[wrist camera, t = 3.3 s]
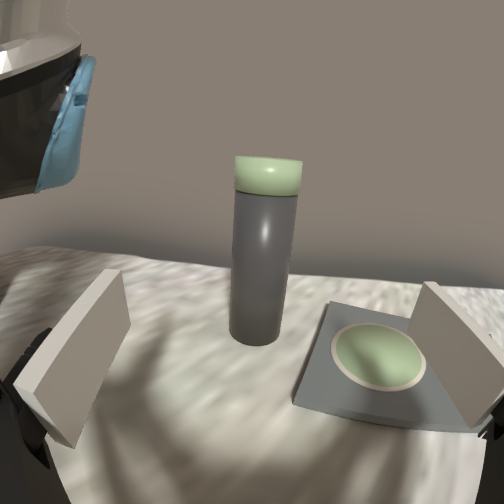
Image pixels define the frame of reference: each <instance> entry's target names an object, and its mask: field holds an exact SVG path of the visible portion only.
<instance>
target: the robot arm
mask: <svg viewBox="0 0 504 504" xmlns="http://www.w3.org/2000/svg"><path fill="white" fill-rule="evenodd" d="M68 5H69V0H0V199H4V198H9V197H15V196H20V195H26V194H31V193H34V194H37V193H39V192H40V191H41V190H45V189H50V188H55V187H60V186H64V185H66V184H68V183H69V182H70V181H71V180H72V179H73V178H74V177H75V176H76V174H77V172H78V169H79V162H80V150H81V141H82V133H83V126H84V119H85V112H86V106H87V101H88V96H89V91H90V86H91V81H92V77H93V72H94V69H95V65H96V59H95V57H92V56H88V55H87V54H86V55H83V56H82V57H80V50H81V41H82V36H81V34H80V33H79V32H78V31H76V30H75V29H74V28H73V27H72V26H71V25H70V24H69V23H68V22H67V11H68ZM130 326H131V323H130V318H129V313H128V308H127V302H126V297H125V291H124V285H123V278H122V271H121V270H117V269H104V270H103V272H102V273H101V274H100V275H99V276H98V277H97V278H96V279H95V280H94V281H93V282H92V284H91V285H90V286H89V287H88V288H87V289H86V290H85V291H84V293H83V294H82V295H81V296H80V297H79V298H78V299H77V301H76V302H75V303H74V304H73V305H72V307H71V308H70V309H69V310H68V311H67V313H66V314H65V315H64V316H63V317H62V319H61V320H60V321H59V322H58V324H57V325H56V326H55V327H54V329H52V328H48V329H46V330H45V331H43V332H42V333H40V334H39V335H37V337H36V338H35V339H34V340H33V342H32V343H31V344H30V347H28V348H27V349H26V351H25V352H24V355H22V356H21V357H20V359H19V360H18V361H17V363H16V364H15V366H14V367H13V368H12V370H11V371H10V372H9V374H8V375H7V377H6V378H5V380H4V381H3V382H2V381H1V379H0V504H71V502H70V500H69V498H68V496H67V494H66V492H65V489H64V487H63V485H62V482H61V480H60V478H59V475H58V473H57V470H56V467H55V465H54V462H53V459H52V456H51V453H50V450H49V447H48V444H47V442H46V441H45V439H44V438H45V435H46V433H47V432H48V434H49V435H50V436H51V437H52V438H53V440H54V441H55V442H58V443H60V444H62V445H65V446H67V447H70V448H73V449H75V447H76V444H77V442H78V439H79V436H80V434H81V431H82V429H83V427H84V424H85V422H86V419H87V417H88V414H89V412H90V410H91V407H92V405H93V403H94V401H95V398H96V396H97V394H98V392H99V389H100V387H101V385H102V383H103V381H104V379H105V376H106V374H107V372H108V370H109V368H110V366H111V364H112V362H113V360H114V358H115V355H116V353H117V351H118V349H119V347H120V345H121V343H122V341H123V339H124V338H125V336H126V334H127V332H128V330H129V328H130ZM406 331H407V333H408V334H409V336H410V337H411V338H412V340H413V341H414V343H415V344H416V346H417V347H418V348H419V350H420V351H421V353H422V354H423V356H424V357H425V359H426V360H427V362H428V363H429V365H430V366H431V368H432V369H433V371H434V372H435V374H436V375H437V377H438V378H439V380H440V381H441V383H442V384H443V386H444V388H445V389H446V391H447V392H448V394H449V396H450V397H451V399H452V400H453V402H454V404H455V405H456V407H457V409H458V410H459V412H460V414H461V416H462V417H463V419H464V421H465V422H466V424H467V426H468V428H469V429H470V430H471V429H473V428H475V427H477V426H478V425H480V424H482V423H483V422H484V420H485V419H486V418H487V417H488V416H489V415H490V413H491V415H492V416H493V418H492V419H491V420H490V421H489V422H488V423H487V425H486V426H485V427H484V428H483V429H482V430H481V431H480V432H479V434H478V437H480V436H481V435H482V434H483V433H484V432H485V431H487V432H486V434H485V435H484V436H483V437H482V438H483V439H486V440H487V442H486V451H485V458H484V464H483V470H482V475H481V480H480V485H479V489H478V493H477V497H476V501H475V504H504V351H503V350H502V349H501V348H500V346H499V345H498V344H497V343H496V342H495V341H494V340H493V339H492V338H491V336H490V335H489V334H488V333H487V332H486V331H485V330H484V329H483V328H482V327H481V326H480V325H479V324H478V323H477V322H476V321H475V320H474V319H473V318H472V317H471V316H470V315H469V314H468V313H467V312H466V311H465V310H464V309H463V308H462V307H461V306H460V305H459V304H458V303H457V302H456V301H455V300H454V299H453V298H452V297H451V296H450V295H449V294H448V293H447V292H445V291H444V290H443V289H442V288H441V287H440V286H439V285H438V284H437V283H436V282H423V285H422V288H421V291H420V294H419V297H418V299H417V302H416V305H415V308H414V310H413V313H412V316H411V318H410V321H409V323H408V326H407V328H406Z"/></svg>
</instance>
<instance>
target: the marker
mask: <svg viewBox="0 0 504 504" xmlns="http://www.w3.org/2000/svg"><path fill="white" fill-rule="evenodd" d="M302 164H303V162H302V161H298V160H292V159H284V158H275V157H262V156H236V159H235V176H234V189H235V204H234V225H233V246H232V269H231V295H230V326H229V331H230V334H231V336H232V337H233V338H234V339H235V340H237V341H238V342H240V343H242V344H245V345H250V346H264V345H268V344H270V343H272V342H274V341H275V340H276V339H277V338H278V336H279V333H280V327H281V321H282V314H283V307H284V301H285V294H286V287H287V280H288V272H289V265H290V257H291V249H292V241H293V232H294V225H295V215H296V207H297V198H298V194H299V193H300V185H301V175H302Z"/></svg>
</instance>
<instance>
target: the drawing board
mask: <svg viewBox="0 0 504 504" xmlns="http://www.w3.org/2000/svg"><path fill="white" fill-rule="evenodd" d="M409 321H410V319H409V318H404V317H400V316H395V315H390V314H386V313H381V312H377V311H372V310H368V309H363V308H359V307H354V306H350V305H346V304H341V303H337V302H333V301H330V303H329V306H328V309H327V312H326V315H325V318H324V321H323V324H322V327H321V330H320V333H319V336H318V339H317V341H316V344H315V347H314V350H313V352H312V355H311V358H310V360H309V363H308V366H307V368H306V371H305V373H304V376H303V378H302V381H301V383H300V386H299V388H298V391H297V393H296V396H295V398H294V402H293V405H297V406H300V407H304V408H308V409H311V410H315V411H319V412H323V413H327V414H331V415H336V416H340V417H344V418H349V419H354V420H359V421H364V422H369V423H375V424H381V425H387V426H394V427H401V428H409V429H418V430H428V431H441V432H463V433H479V432H480V431H481V430H482V429H483V428H484V427H485V426H486V425H487V423H488V422H489V421H490V420H491V419H492V418H493V416H492V415H491V413H490V415H489V416H488V417H487V418H486V419H485V420H484V422H483V423H482V424H480V425H478V426H477V427H475V428H473V429H471V430H470V429H469V428H468V426H467V424H466V422H465V421H464V419H463V417H462V416H461V414H460V412H459V410H458V409H457V407H456V405H455V404H454V402H453V400H452V399H451V397H450V396H449V394H448V392H447V391H446V389H445V388H444V386H443V384H442V383H441V381H440V380H439V378H438V377H437V375H436V374H435V372H434V371H433V369H432V368H431V366H430V365H429V363H428V362H427V360H426V359H425V357H424V356H423V354H422V353H421V351H420V350H419V348H418V347H417V346H416V344H415V343H414V341H413V340H412V338H411V337H410V336H409V334H408V333H407V331H406V328H407V326H408V323H409ZM489 335H490V336H491V334H489ZM491 338H492V336H491ZM486 432H487V431H485V432H484V433H486Z"/></svg>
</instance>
